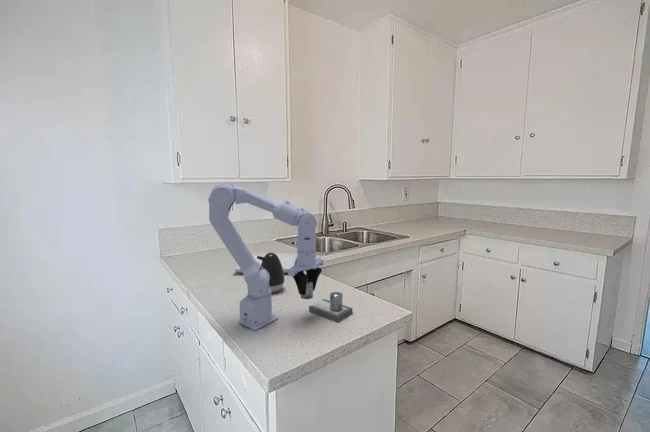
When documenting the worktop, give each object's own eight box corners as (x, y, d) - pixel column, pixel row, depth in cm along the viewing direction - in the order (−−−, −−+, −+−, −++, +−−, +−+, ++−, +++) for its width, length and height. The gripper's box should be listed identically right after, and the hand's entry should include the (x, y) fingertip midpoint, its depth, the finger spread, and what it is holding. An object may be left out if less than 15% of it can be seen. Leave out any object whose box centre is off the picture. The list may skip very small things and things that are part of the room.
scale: (338, 322, 96) (338, 315, 96) (309, 311, 104) (308, 305, 103) (352, 313, 103) (352, 306, 102) (323, 303, 110) (323, 297, 110)
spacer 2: (337, 312, 98) (338, 297, 97) (327, 309, 100) (327, 294, 99) (344, 308, 101) (344, 293, 100) (334, 305, 103) (334, 291, 103)
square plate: (293, 276, 140) (293, 268, 139) (232, 276, 140) (232, 268, 139) (298, 259, 167) (298, 252, 166) (247, 259, 166) (246, 252, 166)
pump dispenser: (256, 287, 125) (254, 250, 123) (281, 284, 129) (280, 248, 127) (260, 297, 116) (258, 257, 114) (287, 293, 120) (286, 254, 117)
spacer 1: (307, 300, 96) (307, 284, 96) (297, 297, 99) (297, 281, 98) (315, 296, 99) (315, 281, 99) (306, 293, 102) (306, 278, 101)
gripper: (299, 257, 89) (300, 302, 91) (330, 247, 100) (330, 288, 102) (282, 253, 93) (283, 296, 95) (314, 244, 104) (314, 283, 106)
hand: (306, 292), depth 99 cm, fingers closed on spacer 1, 4 cm apart
